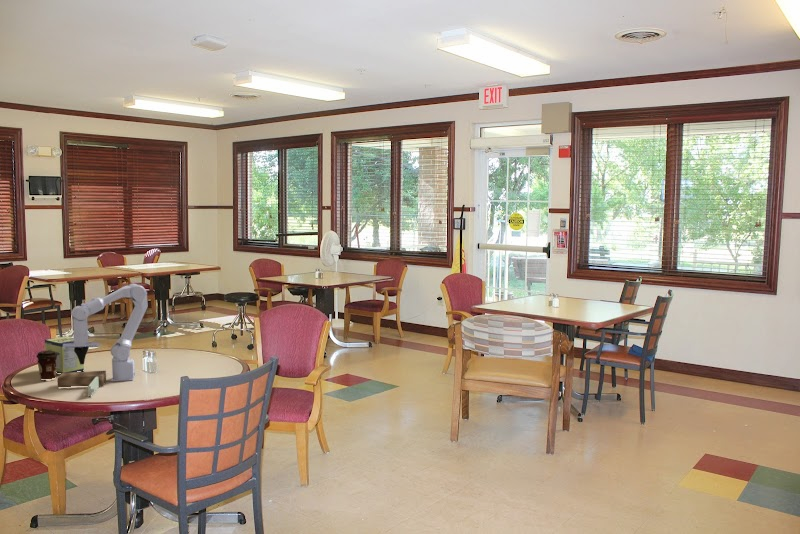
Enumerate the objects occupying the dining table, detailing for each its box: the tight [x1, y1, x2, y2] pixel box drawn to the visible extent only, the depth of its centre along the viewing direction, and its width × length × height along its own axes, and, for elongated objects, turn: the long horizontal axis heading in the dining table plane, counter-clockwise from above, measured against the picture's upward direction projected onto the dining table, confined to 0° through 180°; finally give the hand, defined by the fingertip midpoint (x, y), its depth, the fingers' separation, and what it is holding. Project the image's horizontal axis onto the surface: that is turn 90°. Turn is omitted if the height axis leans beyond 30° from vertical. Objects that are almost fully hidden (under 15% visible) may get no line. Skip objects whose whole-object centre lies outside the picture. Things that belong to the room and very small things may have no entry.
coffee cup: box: [36, 350, 58, 380], centre depth 306 cm, size 9×8×13 cm
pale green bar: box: [87, 376, 100, 397], centre depth 286 cm, size 16×2×4 cm, turn 14°
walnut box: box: [56, 370, 107, 388], centre depth 297 cm, size 18×9×5 cm, turn 105°
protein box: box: [44, 335, 85, 374], centre depth 321 cm, size 10×16×16 cm
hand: (82, 363), depth 297 cm, fingers closed
